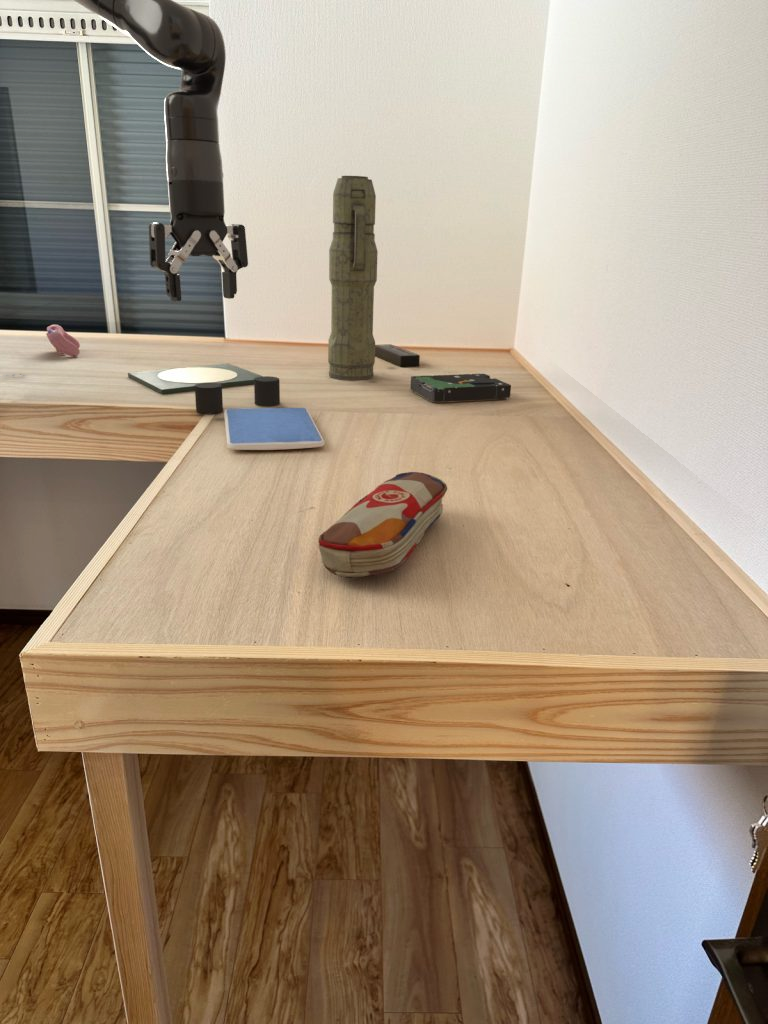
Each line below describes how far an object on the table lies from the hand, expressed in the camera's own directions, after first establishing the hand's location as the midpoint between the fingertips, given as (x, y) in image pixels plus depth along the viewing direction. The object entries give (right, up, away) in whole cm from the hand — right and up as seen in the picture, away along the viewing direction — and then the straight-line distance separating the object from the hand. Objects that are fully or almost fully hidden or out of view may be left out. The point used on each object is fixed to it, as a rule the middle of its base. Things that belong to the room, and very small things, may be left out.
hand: (202, 299), depth 107 cm
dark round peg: (0, -16, +4) cm, 16 cm away
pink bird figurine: (-40, +2, +45) cm, 60 cm away
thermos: (+20, -5, +33) cm, 39 cm away
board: (-7, -7, +25) cm, 27 cm away
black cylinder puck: (+8, -14, +10) cm, 19 cm away
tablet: (+11, -20, -5) cm, 24 cm away
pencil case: (+27, -34, -39) cm, 59 cm away
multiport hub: (+29, +1, +50) cm, 58 cm away
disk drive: (+40, -11, +21) cm, 46 cm away
